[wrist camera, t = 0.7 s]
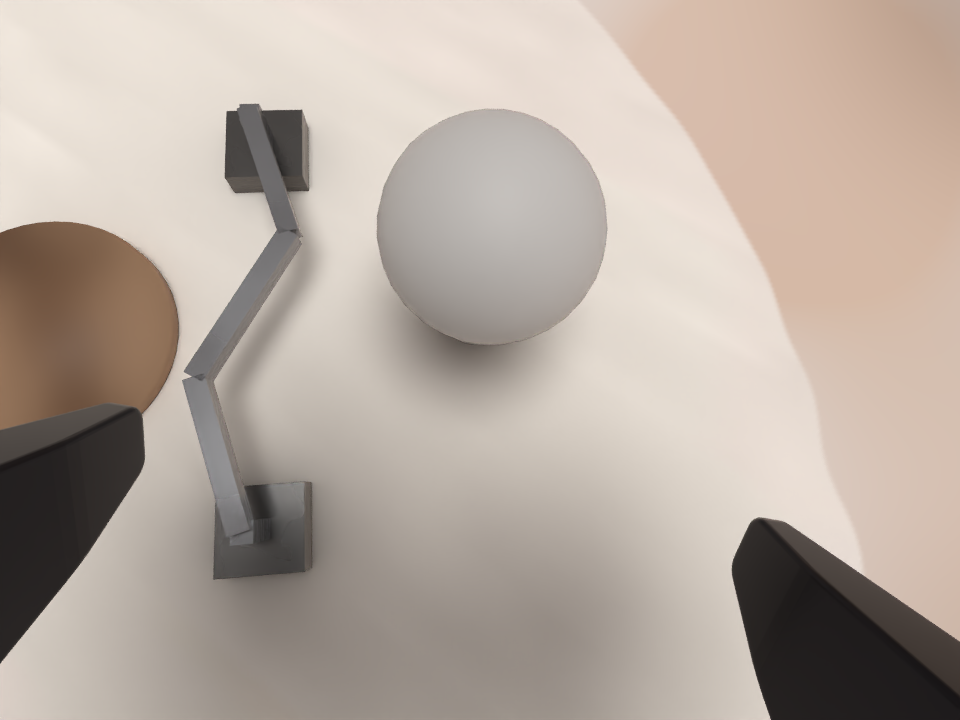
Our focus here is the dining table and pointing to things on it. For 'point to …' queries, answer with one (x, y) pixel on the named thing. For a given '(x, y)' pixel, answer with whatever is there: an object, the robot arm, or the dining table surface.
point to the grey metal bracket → (239, 509)
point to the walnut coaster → (79, 322)
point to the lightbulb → (492, 226)
